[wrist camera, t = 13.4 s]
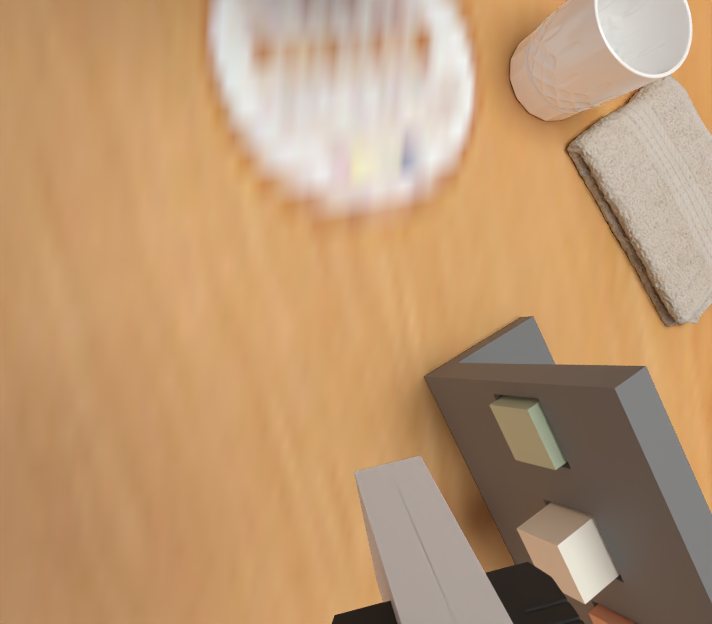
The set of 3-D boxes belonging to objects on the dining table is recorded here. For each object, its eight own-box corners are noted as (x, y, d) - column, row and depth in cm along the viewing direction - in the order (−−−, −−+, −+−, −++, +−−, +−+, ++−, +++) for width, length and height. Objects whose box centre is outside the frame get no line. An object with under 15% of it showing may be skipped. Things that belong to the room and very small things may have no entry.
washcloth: (664, 336, 53) (696, 335, 50) (554, 148, 50) (581, 136, 48) (745, 258, 57) (779, 252, 54) (646, 79, 54) (677, 63, 52)
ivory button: (516, 528, 37) (557, 545, 34) (560, 495, 38) (604, 508, 35) (542, 582, 37) (585, 604, 34) (585, 547, 39) (630, 565, 35)
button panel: (424, 376, 45) (614, 388, 28) (520, 317, 48) (744, 296, 31) (543, 621, 47) (786, 769, 30) (628, 549, 50) (891, 647, 33)
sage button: (489, 405, 37) (527, 409, 34) (534, 375, 38) (575, 377, 35) (515, 459, 37) (555, 470, 34) (559, 428, 39) (602, 435, 35)
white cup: (585, 138, 51) (692, 89, 42) (499, 119, 48) (593, 62, 39) (588, 41, 52) (693, -28, 42) (503, 17, 49) (596, -62, 40)
